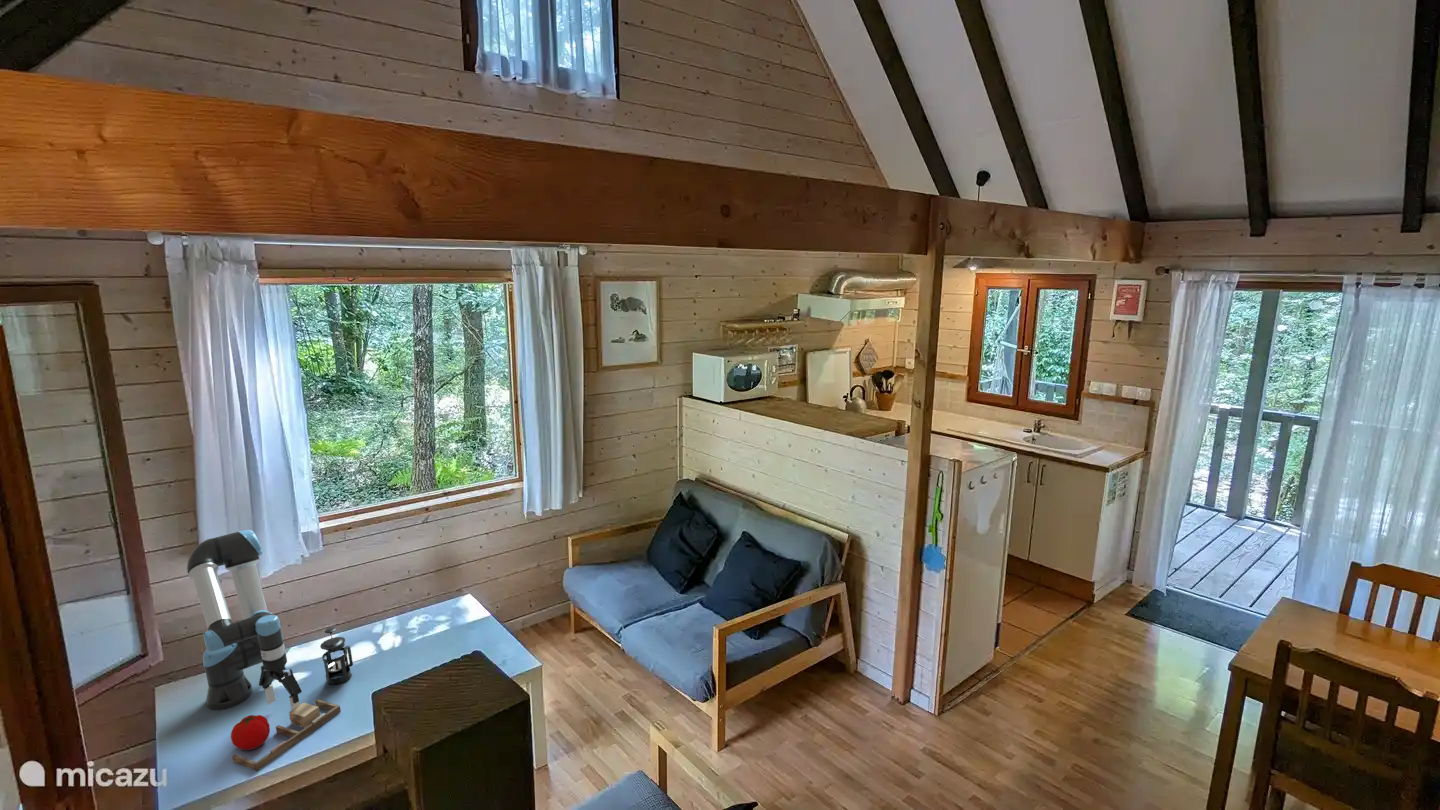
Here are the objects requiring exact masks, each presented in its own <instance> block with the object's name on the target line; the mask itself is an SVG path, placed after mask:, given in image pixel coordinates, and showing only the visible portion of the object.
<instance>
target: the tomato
mask: <svg viewBox="0 0 1440 810" xmlns="http://www.w3.org/2000/svg"><path fill="white" fill-rule="evenodd" d="M270 732H271V729H270V724H269V721H268V718H266V717H265V716H264V715H261V714H256V715H253V714H250V715H248V716H245V717H244V718H242V719H241V720H240V721H239V722H237V723H236V724H235V725H233V728H232V730H231V733H230V739H231V742H232V744H233V746H235V747H236V748H237V749H240V750H245V751H247V750H249V751H250V750H253V749H256V748H258V747H259V746H261V745H263V744H264V743H265V742H266V741H267V740H268V738H269V735H270Z"/></svg>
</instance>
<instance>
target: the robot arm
mask: <svg viewBox="0 0 1440 810" xmlns="http://www.w3.org/2000/svg"><path fill="white" fill-rule="evenodd" d="M261 555H263V550H262V546H261V543H260V542H259V539H258V536H257V535H256V533H255V532H254V531H253V530H251V529H246V530H245V529H244V530H239V531H235V532H232V533H228V534H224V535H219V536H216V537H212V538H211V537H210V538H207V539H206V540H203V541H202V542H200V543H199V544H198V545H197V546H195V547H194V549H193V550H192V552H191V554H190V555H189V557H188V560H187V564H186V570H187V576H188V577H189V579H191V580H193V584H194V587H195V590H196V594H197V598H198V600H199V604H200V607H201V611H202V614H203V617H204V620H205V624H206V628H207V631H205V632H203V633H202V635H203V636H202V637H203V641H204V644H205V648H206V649H205V650H204V651H203V654H202V662H203V663H202V665H203V667H204V671H205V676H206V680H207V681H206V682H207V685H208V688H207V693H206V698H205V703H206V707H207V708H208V709H209V710H213V711H214V710H215V711H218V710H224V709H228V708H231V707H234V706H237V705H238V704H241V703H243V702H244V701H245V700H247V699H249V697H251V696H252V694H253V692H254V691H253V684H252V683H251V682H250V681H249V679H248V678H247V676H246V675H245V673H244V670H245V669H248V668H251V667H254V666H255V665H260V664H262V665H261V666H260V671H261V672H260V677H259V682H258V686H259V687H262V689H263V690H264V694H265V699H266V704H267V705H271V704H272V703H274V702H275V701H276V697H275V691H274V687H273V681H274V680H277V681H278V682H279V683H280V684H282V685H283V687H284V688H285V690H286V691H287V693H288V694H289V696H288V698H289V702H290V703H289V704H290V707H291V708H290V709H291V711H292V710H293V709H295V708H296V707H298V706H299V705H300V699H299V695H300V694H302V689H301V687H300V685H299V682H298V681H297V679H296V677H295V675H294V672H293V670H292V668H289V669H287V668H286V665H287V663H288V658H287V654H286V647H285V643H284V635H283V630H282V627H281V626H282V624H281V622H280V618H279V617H278V615H275V614H273V613H272V612H270V611H268V607H267V604H266V603H267V602H266V599H265V595H264V591H263V586H262V583H261V579H260V576H259V571H258V566H257V565H258V562H260V556H261ZM221 566H224V567H225V570H226V571H227V570H228V571H229V572H231V575H232V576H231V577H232V580H233V581H232V582H233V584H234V589H235V591H236V593H235V594H236V597H237V600H238V601H237V602H238V604H239V605H238V606H239V608H240V613H241V617H242V620H237V621H234V622H233V620H232V617H231V613H230V610H229V608H228V604H227V601H226V597H225V595H224V590H223V588H222V584H221V581H220V579H219V576H218V571H219V567H221Z"/></svg>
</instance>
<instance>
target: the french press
mask: <svg viewBox="0 0 1440 810" xmlns="http://www.w3.org/2000/svg"><path fill="white" fill-rule="evenodd" d="M336 630H337V627H335V626H334V627H329V628H327V629H325V631H324V633H325V634H329V635H330V637H331V638H329V639H326V640H324V641H323V642H321V644H320V646H319V647H320V649H322V650H325V652H324V653H323V654H322V657H321V658H322V661H323V664H324V665H323V666H324V669H325V670H324V671H325V680H326V681H325V684H326V685H327V686H328V687H337V686H341V685H344V684H345V683H348V682H349V681H350V680H351V679H352V676H353V674H352V673H351V667H353V665H354V662H353V661H354V660H353V656H352V650H351V646H348V645H346V643H345V642H346V639H345V637H343V636H335V637H333V633H334V632H336ZM345 645H346V646H345ZM339 651H340V652H342V651H343V654H342V655H341V656H339V657H337V656H336V653H337V652H339ZM331 653H333V655H334V658H332V654H331ZM325 657H326V659H325ZM339 675H341V676H339ZM336 676H339V677H336ZM334 677H335V678H334Z"/></svg>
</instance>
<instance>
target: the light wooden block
mask: <svg viewBox="0 0 1440 810" xmlns="http://www.w3.org/2000/svg"><path fill="white" fill-rule="evenodd" d="M288 714H289V719H290V724H291V725H294V724H295V725H294V726H297V725H298V727H300V726H302V727H301V728H303V727H305V728H306V727H307V726H309V725H310V724H311V723H312V721H313V720H315V719H316V718H318V717H319V716H321V712H320V707H317V706H316V705H313V704H310V703H307V702H303V703H301V704H299V706H298V707H296V708H295V709H293V710H292V709H291V710H290V711H289V712H288Z"/></svg>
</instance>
